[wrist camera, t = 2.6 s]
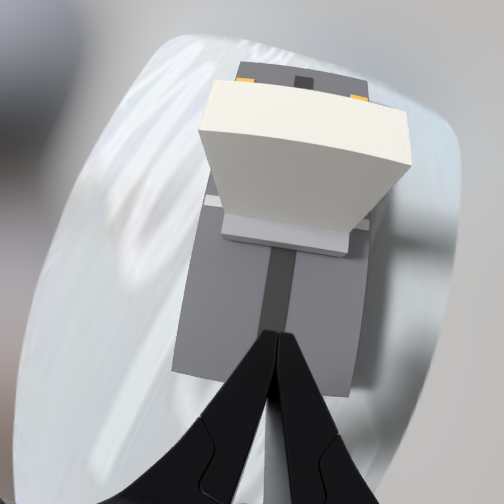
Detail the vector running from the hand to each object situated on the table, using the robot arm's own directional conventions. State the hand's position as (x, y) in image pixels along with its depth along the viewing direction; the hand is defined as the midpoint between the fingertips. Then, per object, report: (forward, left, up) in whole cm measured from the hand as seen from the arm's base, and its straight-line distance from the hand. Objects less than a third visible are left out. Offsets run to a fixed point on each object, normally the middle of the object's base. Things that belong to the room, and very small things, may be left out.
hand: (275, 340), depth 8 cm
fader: (+5, -4, -6) cm, 9 cm away
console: (+5, -5, -9) cm, 11 cm away
